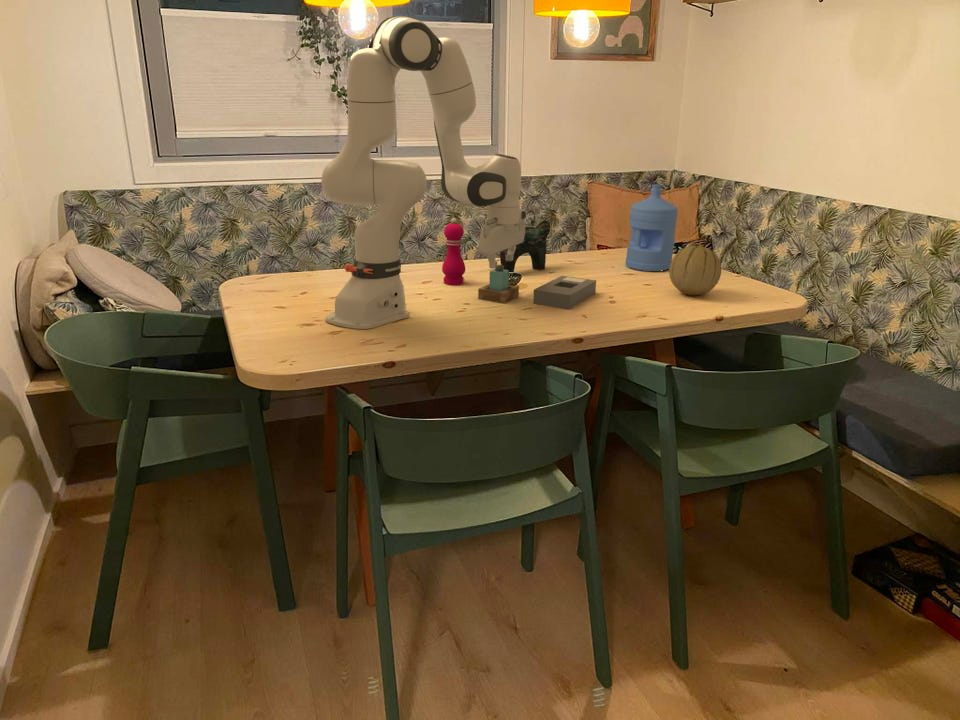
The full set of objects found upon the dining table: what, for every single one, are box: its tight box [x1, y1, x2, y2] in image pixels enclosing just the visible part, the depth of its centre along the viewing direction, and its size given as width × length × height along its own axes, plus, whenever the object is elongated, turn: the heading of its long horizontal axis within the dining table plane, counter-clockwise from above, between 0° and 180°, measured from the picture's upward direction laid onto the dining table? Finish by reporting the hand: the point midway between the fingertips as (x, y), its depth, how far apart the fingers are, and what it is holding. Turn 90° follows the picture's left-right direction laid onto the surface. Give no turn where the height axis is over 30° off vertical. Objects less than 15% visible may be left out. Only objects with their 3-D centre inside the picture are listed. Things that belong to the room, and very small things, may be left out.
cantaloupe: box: [668, 242, 722, 296], centre depth 204 cm, size 15×15×15 cm
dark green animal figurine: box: [499, 210, 551, 273], centre depth 227 cm, size 20×6×20 cm, turn 130°
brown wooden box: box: [477, 284, 520, 304], centre depth 198 cm, size 9×9×3 cm
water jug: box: [625, 183, 678, 272], centre depth 235 cm, size 16×16×28 cm
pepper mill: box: [441, 217, 466, 286], centre depth 211 cm, size 7×7×20 cm
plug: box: [488, 264, 510, 291], centre depth 197 cm, size 4×4×10 cm
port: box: [532, 275, 597, 310], centre depth 199 cm, size 20×11×4 cm, turn 151°
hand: (501, 264), depth 195 cm, fingers open, 8 cm apart
